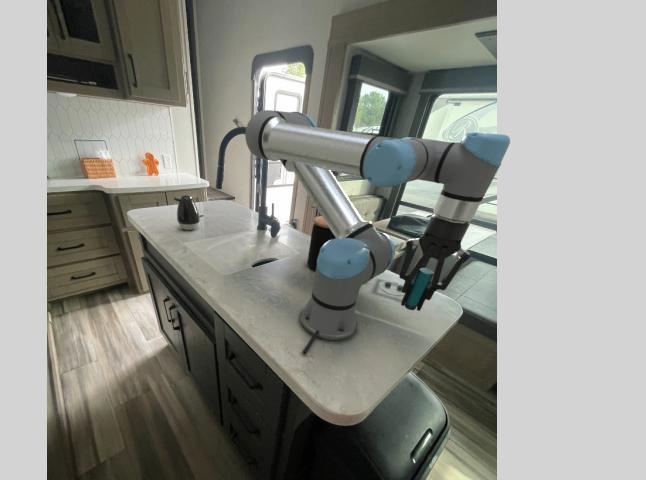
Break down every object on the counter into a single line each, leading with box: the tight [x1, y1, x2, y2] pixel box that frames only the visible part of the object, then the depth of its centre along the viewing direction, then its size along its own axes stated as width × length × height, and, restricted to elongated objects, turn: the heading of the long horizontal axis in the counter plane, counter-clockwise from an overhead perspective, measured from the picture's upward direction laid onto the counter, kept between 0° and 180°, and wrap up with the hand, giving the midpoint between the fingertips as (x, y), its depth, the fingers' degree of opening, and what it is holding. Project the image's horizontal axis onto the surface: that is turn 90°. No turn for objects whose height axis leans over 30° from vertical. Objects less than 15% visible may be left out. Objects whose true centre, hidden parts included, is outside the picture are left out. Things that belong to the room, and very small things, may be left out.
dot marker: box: [403, 267, 434, 311], centre depth 68 cm, size 3×3×11 cm
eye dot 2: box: [396, 285, 403, 291], centre depth 91 cm, size 2×2×1 cm
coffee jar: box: [307, 215, 336, 271], centre depth 99 cm, size 11×11×18 cm
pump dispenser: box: [173, 194, 201, 231], centre depth 124 cm, size 10×10×15 cm
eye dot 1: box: [384, 282, 392, 288], centre depth 92 cm, size 2×2×1 cm
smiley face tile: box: [378, 280, 405, 297], centre depth 92 cm, size 10×11×1 cm
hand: (410, 305), depth 71 cm, fingers closed on dot marker, 3 cm apart
